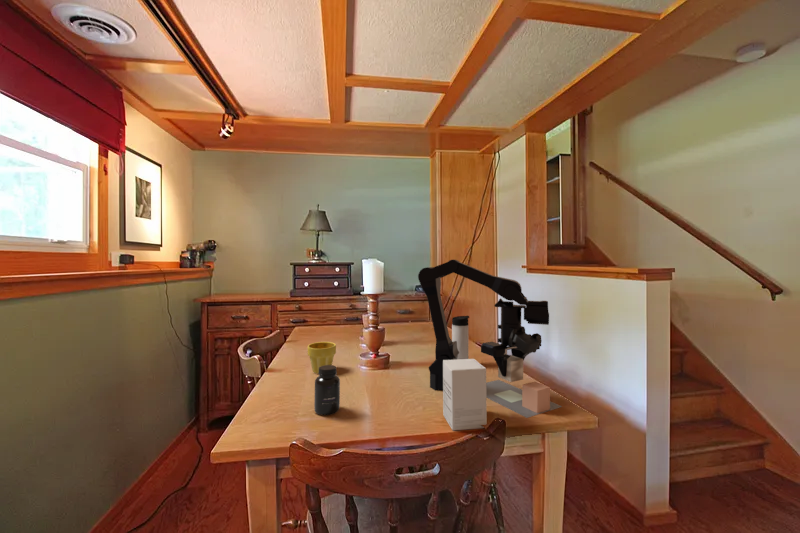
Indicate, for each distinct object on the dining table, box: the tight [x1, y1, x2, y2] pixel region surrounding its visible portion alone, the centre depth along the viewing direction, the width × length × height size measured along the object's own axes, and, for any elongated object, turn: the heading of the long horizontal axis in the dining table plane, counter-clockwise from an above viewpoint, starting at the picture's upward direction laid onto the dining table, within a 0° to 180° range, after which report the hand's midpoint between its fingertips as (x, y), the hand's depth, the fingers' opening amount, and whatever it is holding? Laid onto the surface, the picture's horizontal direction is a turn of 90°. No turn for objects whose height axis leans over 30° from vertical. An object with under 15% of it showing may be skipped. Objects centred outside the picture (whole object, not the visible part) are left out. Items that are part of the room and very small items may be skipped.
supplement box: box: [442, 358, 488, 431], centre depth 87 cm, size 9×9×15 cm
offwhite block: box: [497, 354, 524, 383], centre depth 101 cm, size 5×5×6 cm
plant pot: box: [307, 341, 337, 374], centre depth 127 cm, size 10×10×10 cm
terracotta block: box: [521, 381, 551, 413], centre depth 93 cm, size 5×5×6 cm
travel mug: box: [451, 315, 470, 359], centre depth 131 cm, size 6×7×20 cm
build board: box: [486, 379, 563, 419], centre depth 101 cm, size 14×24×1 cm, turn 29°
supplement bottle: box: [313, 364, 341, 416], centre depth 93 cm, size 7×7×12 cm
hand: (510, 374), depth 101 cm, fingers closed on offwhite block, 5 cm apart
